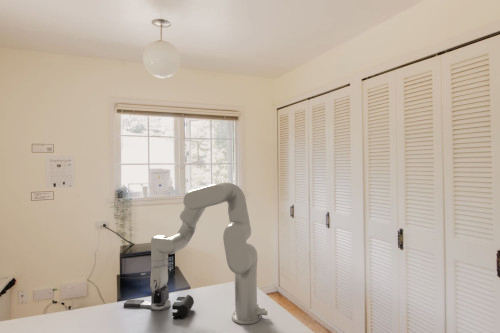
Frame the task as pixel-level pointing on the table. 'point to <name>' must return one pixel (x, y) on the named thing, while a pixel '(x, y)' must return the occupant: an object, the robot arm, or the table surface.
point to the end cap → (182, 307)
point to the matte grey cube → (163, 292)
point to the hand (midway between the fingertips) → (160, 299)
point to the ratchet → (147, 305)
